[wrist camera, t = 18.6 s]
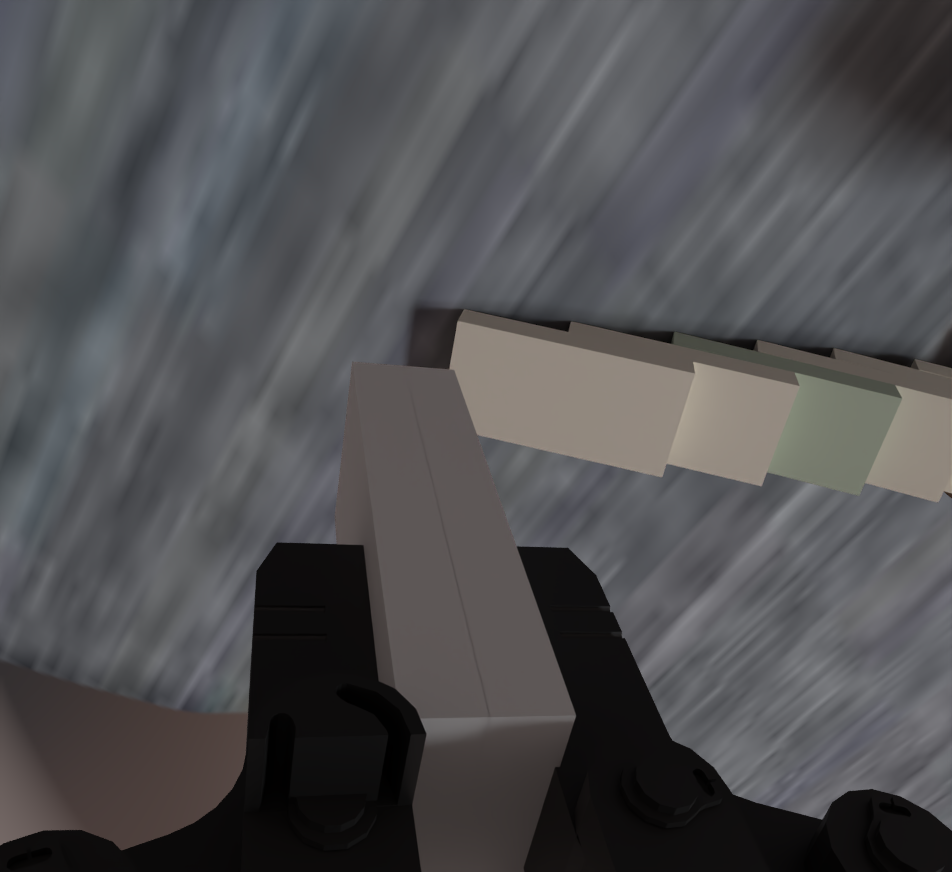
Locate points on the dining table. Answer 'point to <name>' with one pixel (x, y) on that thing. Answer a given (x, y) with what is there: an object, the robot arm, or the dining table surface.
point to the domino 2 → (722, 409)
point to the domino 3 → (822, 419)
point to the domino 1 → (570, 391)
